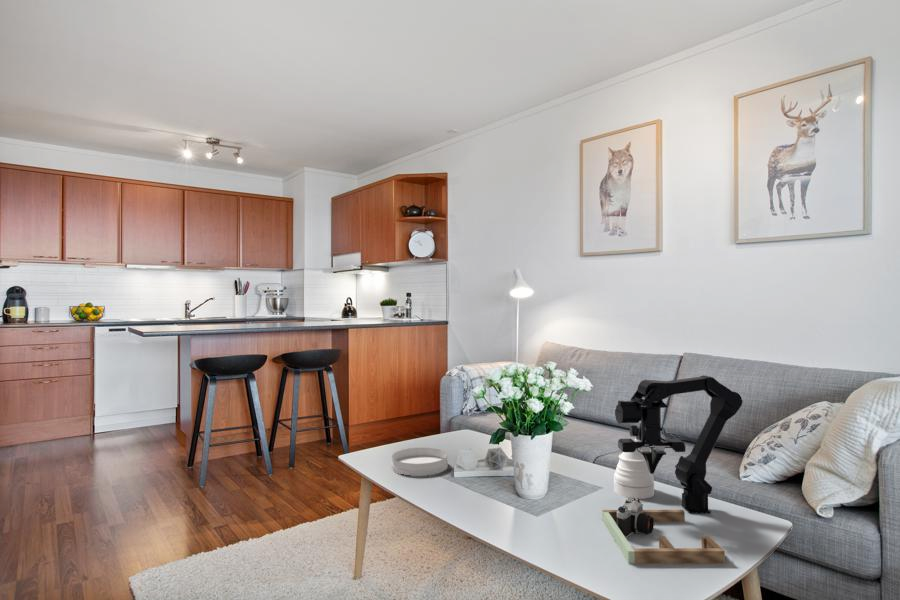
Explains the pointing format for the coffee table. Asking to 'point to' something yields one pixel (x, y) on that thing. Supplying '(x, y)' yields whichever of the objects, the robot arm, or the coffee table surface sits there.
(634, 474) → the honey pot
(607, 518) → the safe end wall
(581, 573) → the coffee table surface
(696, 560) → the trap box
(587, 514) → the coffee table surface
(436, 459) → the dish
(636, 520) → the camera
